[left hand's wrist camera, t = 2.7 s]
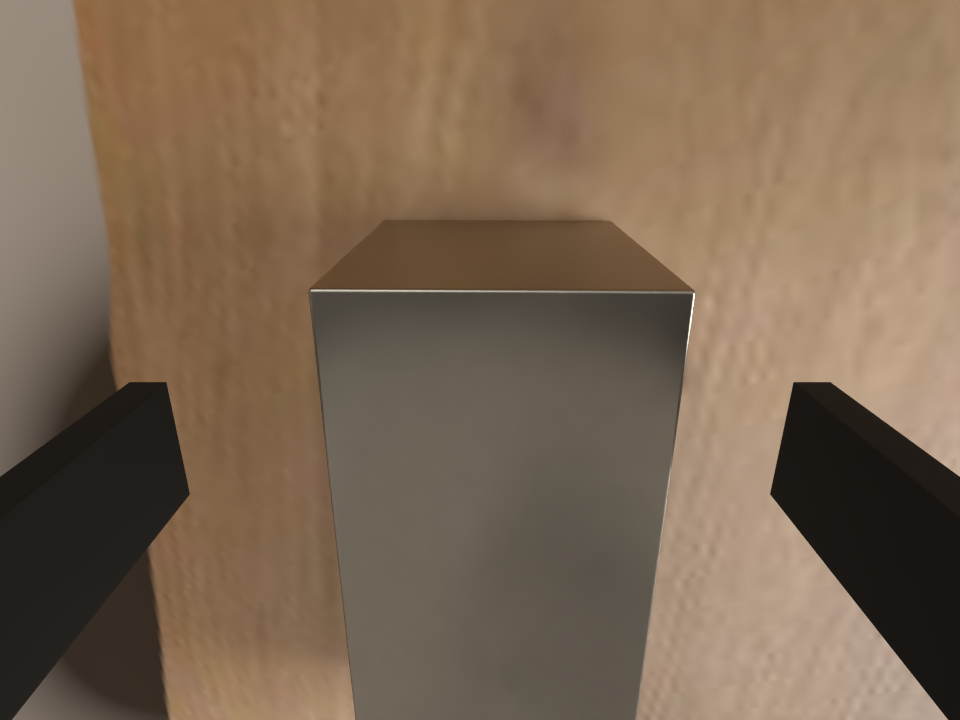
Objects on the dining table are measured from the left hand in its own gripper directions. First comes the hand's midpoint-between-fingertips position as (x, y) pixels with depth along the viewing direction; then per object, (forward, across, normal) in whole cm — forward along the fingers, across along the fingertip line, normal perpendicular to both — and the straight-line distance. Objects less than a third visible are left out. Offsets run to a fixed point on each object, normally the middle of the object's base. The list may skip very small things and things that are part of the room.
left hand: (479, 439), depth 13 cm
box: (+9, +1, -7) cm, 11 cm away
